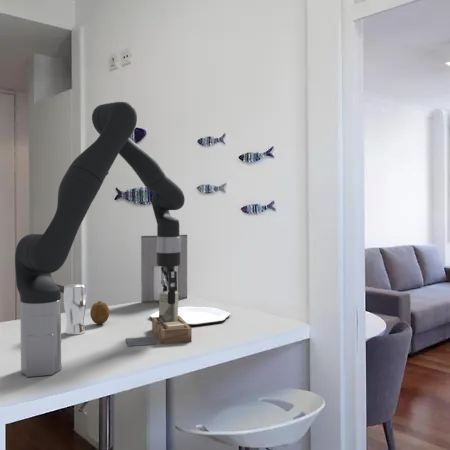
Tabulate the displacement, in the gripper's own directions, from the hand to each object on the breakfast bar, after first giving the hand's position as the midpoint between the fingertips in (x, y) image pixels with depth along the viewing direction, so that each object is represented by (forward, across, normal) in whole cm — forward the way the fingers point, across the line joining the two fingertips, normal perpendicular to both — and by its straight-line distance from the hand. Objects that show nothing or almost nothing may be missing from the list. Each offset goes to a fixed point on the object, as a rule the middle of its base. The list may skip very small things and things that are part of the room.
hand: (168, 301), depth 158 cm
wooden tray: (+10, -4, 0) cm, 11 cm away
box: (+10, 0, 0) cm, 10 cm away
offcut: (+8, -9, 0) cm, 12 cm away
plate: (+11, +19, -11) cm, 24 cm away
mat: (+10, -9, +10) cm, 17 cm away
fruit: (+10, +17, +21) cm, 28 cm away
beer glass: (+10, +8, +29) cm, 31 cm away
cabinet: (+10, +51, -9) cm, 53 cm away
